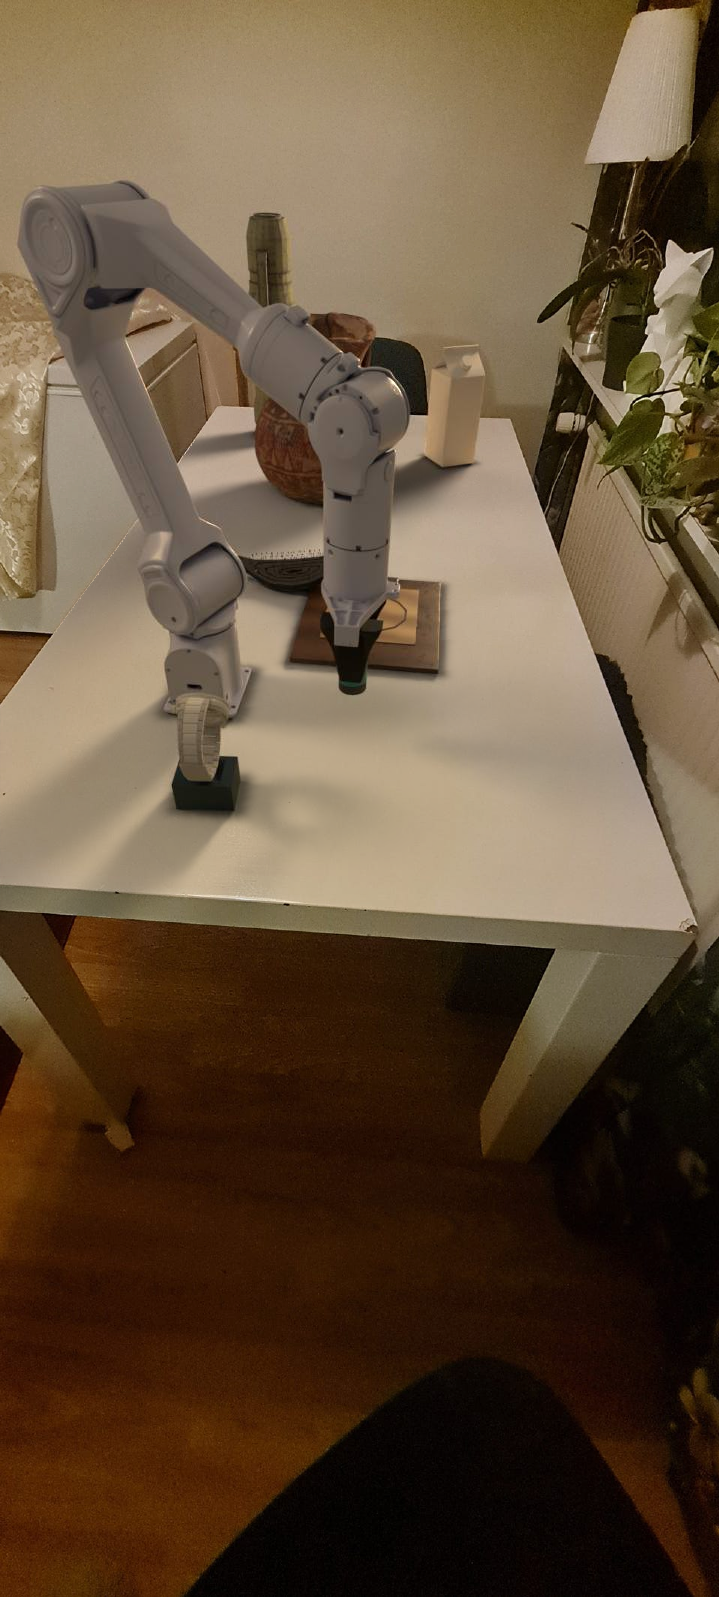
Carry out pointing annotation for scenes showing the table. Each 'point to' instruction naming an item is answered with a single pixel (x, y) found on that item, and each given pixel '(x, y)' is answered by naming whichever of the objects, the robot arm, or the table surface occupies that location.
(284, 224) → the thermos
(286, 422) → the jug
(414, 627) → the clipboard
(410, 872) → the table surface
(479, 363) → the milk carton
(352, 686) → the dot marker
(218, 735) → the watch
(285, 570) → the hairbrush
